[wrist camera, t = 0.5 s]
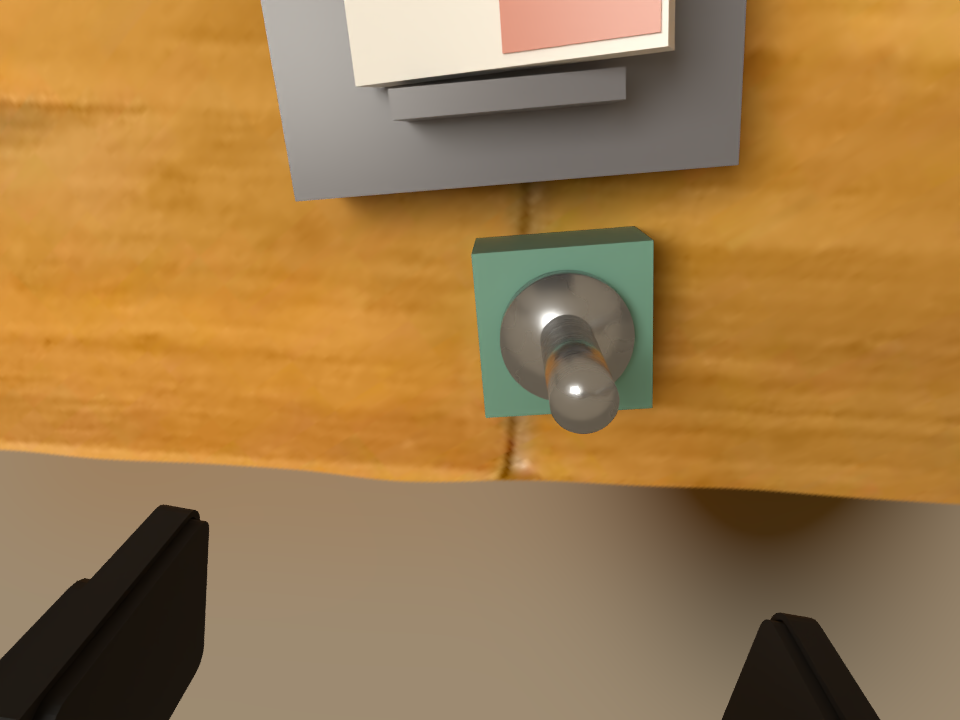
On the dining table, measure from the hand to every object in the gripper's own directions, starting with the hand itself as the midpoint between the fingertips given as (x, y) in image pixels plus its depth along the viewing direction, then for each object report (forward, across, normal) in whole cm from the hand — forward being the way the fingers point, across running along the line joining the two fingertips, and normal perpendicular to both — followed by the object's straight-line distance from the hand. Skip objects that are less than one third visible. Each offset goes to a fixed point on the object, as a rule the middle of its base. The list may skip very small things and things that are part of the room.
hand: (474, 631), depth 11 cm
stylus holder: (+24, -3, 0) cm, 25 cm away
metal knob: (+24, -3, 0) cm, 24 cm away
